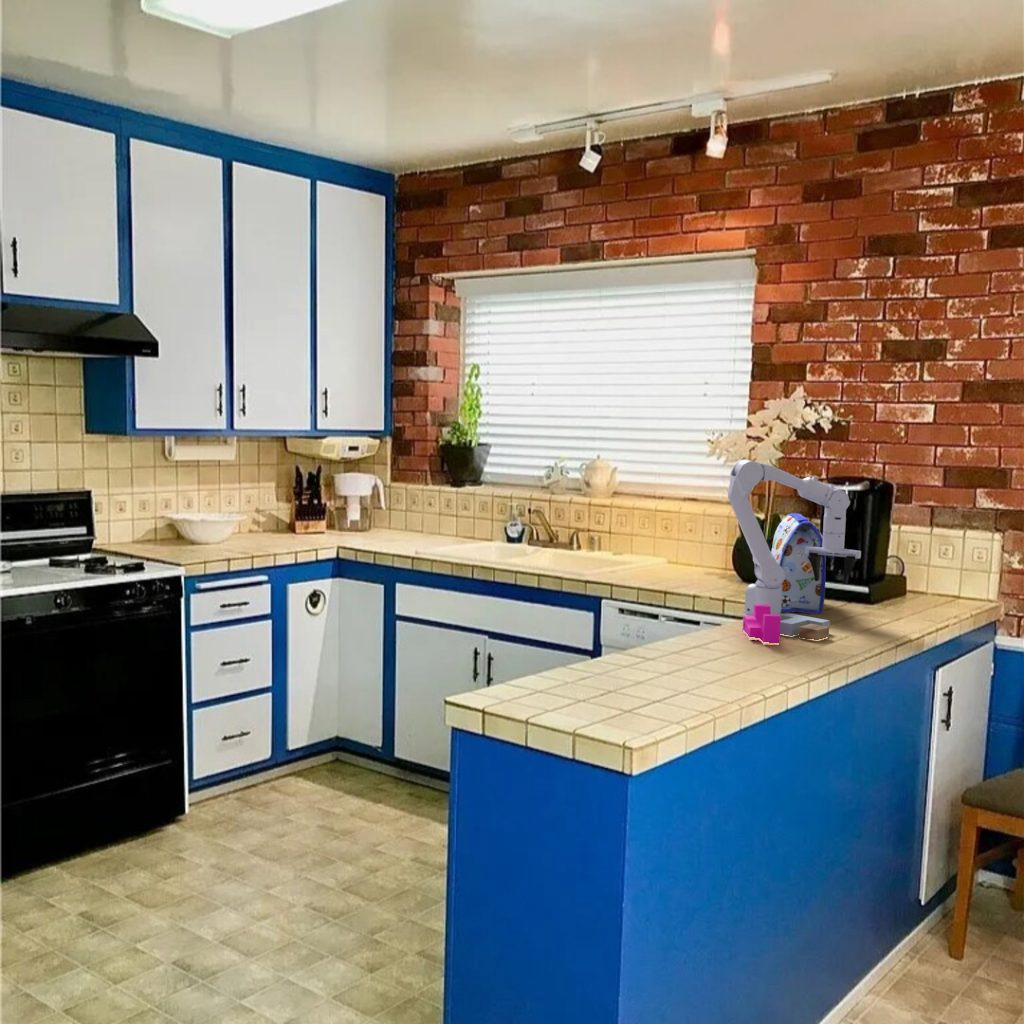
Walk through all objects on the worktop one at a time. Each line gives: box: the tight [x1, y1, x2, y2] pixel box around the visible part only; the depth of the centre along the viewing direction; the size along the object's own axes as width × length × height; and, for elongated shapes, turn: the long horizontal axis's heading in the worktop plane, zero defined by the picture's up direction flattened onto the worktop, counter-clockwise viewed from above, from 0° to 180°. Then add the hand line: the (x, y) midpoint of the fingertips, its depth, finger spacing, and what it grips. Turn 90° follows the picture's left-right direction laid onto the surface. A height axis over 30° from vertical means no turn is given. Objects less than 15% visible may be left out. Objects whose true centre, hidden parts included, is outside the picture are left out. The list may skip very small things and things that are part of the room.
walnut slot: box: [780, 618, 830, 640], centre depth 265 cm, size 18×6×3 cm, turn 45°
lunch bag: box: [770, 512, 835, 615], centre depth 302 cm, size 23×17×27 cm
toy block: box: [742, 604, 781, 644], centre depth 258 cm, size 15×6×8 cm, turn 177°
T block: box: [780, 612, 831, 636], centre depth 266 cm, size 12×12×4 cm
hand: (831, 582), depth 284 cm, fingers open, 7 cm apart
